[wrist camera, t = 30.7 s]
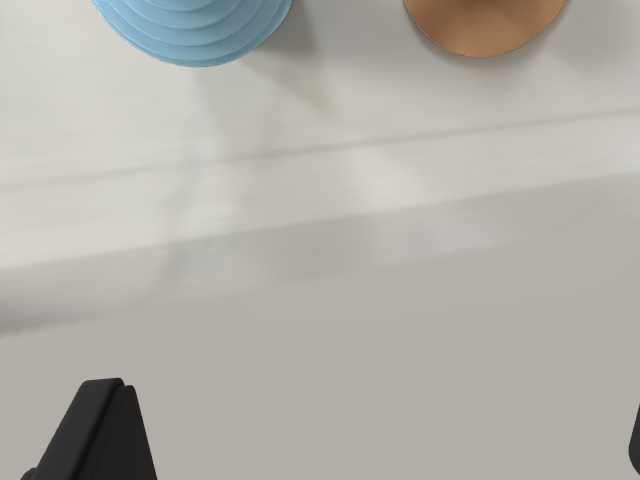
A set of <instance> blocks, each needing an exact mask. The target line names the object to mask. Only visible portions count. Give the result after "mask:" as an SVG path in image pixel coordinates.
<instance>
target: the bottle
mask: <svg viewBox="0 0 640 480" xmlns="http://www.w3.org/2000/svg"><path fill="white" fill-rule="evenodd" d="M91 1H92V3H93V5H94V6H95V8H96V9H97V10H98V12H99V13H100V15H101V16H102V17H103V19H104V20H105V21H106V22H107V23H108V24H109V25H110V26H111V28H112V29H113V30H114V31H115V32H116V33H117V34H119V35H120V36H121V37H122V38H123V39H124V40H125V41H127V42H128V43H129V44H131V45H132V46H134V47H135V48H137V49H138V50H140V51H142V52H143V53H145V54H147V55H149V56H151V57H153V58H156V59H158V60H161V61H163V62H166V63H170V64H174V65H178V66H186V67H209V66H215V65H221V64H224V63H227V62H230V61H233V60H235V59H237V58H240V57H242V56H244V55H246V54H247V53H249V52H250V51H252V50H253V49H255V48H256V47H257V46H258V45H260V44H261V43H262V42H263V41H264V40H265V39H266V38H267V37H268V36H270V35H271V34H272V33H273V32H274V31H275V30H276V29H277V28H278V27H279V25H280V24H281V23H282V22H283V20H284V19H285V17H286V15H287V13H288V11H289V9H290V7H291V4H292V1H293V0H91Z"/></svg>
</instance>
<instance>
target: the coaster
mask: <svg viewBox="0 0 640 480" xmlns="http://www.w3.org/2000/svg"><path fill="white" fill-rule="evenodd" d="M565 2H566V0H404V3H405V6H406V8H407V10H408V13H409V15H410V16H411V18H412V20H413V21H414V23H415V24H416V26H417V27H418V28H419V29H420V31H421V32H422V33H423V34H424V35H425V36H426V37H427V38H428V39H429V40H430V41H432V42H433V43H435V44H436V45H438V46H439V47H441V48H443V49H445V50H447V51H449V52H452V53H455V54H458V55H463V56H469V57H490V56H496V55H500V54H504V53H507V52H509V51H512V50H514V49H517V48H519V47H520V46H522V45H524V44H526V43H527V42H529V41H530V40H532V39H533V38H535V37H536V36H537V35H538V34H539V33H541V32H542V31H543V30H544V29H545V28H546V27H547V26H548V25H549V24H550V23H551V22H552V20H553V19H554V18H555V17H556V16H557V14H558V13H559V11H560V10H561V9H562V7H563V6H564V4H565Z"/></svg>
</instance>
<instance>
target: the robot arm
mask: <svg viewBox="0 0 640 480" xmlns="http://www.w3.org/2000/svg"><path fill="white" fill-rule="evenodd" d="M629 457H630V461H631V462H632V465H633V467H634V468H635V470H636V471H637V472H638V474H639V475H640V405H639V409H638V413H637V417H636V421H635V425H634V428H633V432H632V436H631V440H630V444H629ZM21 480H157V476H156V472H155V468H154V464H153V460H152V456H151V452H150V448H149V444H148V440H147V436H146V431H145V428H144V423H143V419H142V415H141V411H140V407H139V403H138V399H137V395H136V391H135V389H134V387H133V386H132V385H128V386H125V385H124V382H123V381H122V379H121V378H109V379H98V380H87V381H85V382H83V383H82V385H81V386H80V388H79V390H78V392H77V394H76V395H75V397H74V399H73V401H72V403H71V405H70V406H69V408H68V410H67V412H66V414H65V416H64V418H63V420H62V421H61V423H60V425H59V427H58V429H57V431H56V433H55V435H54V436H53V438H52V440H51V442H50V444H49V445H48V447H47V450H46V451H45V453H44V455H43V457H42V459H41V460H40V462H39V464H38V466H37V467H36V468H31V469H30V470H29V471H27V472H26V473H25V474H24V475H23V477H22V478H21Z"/></svg>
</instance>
